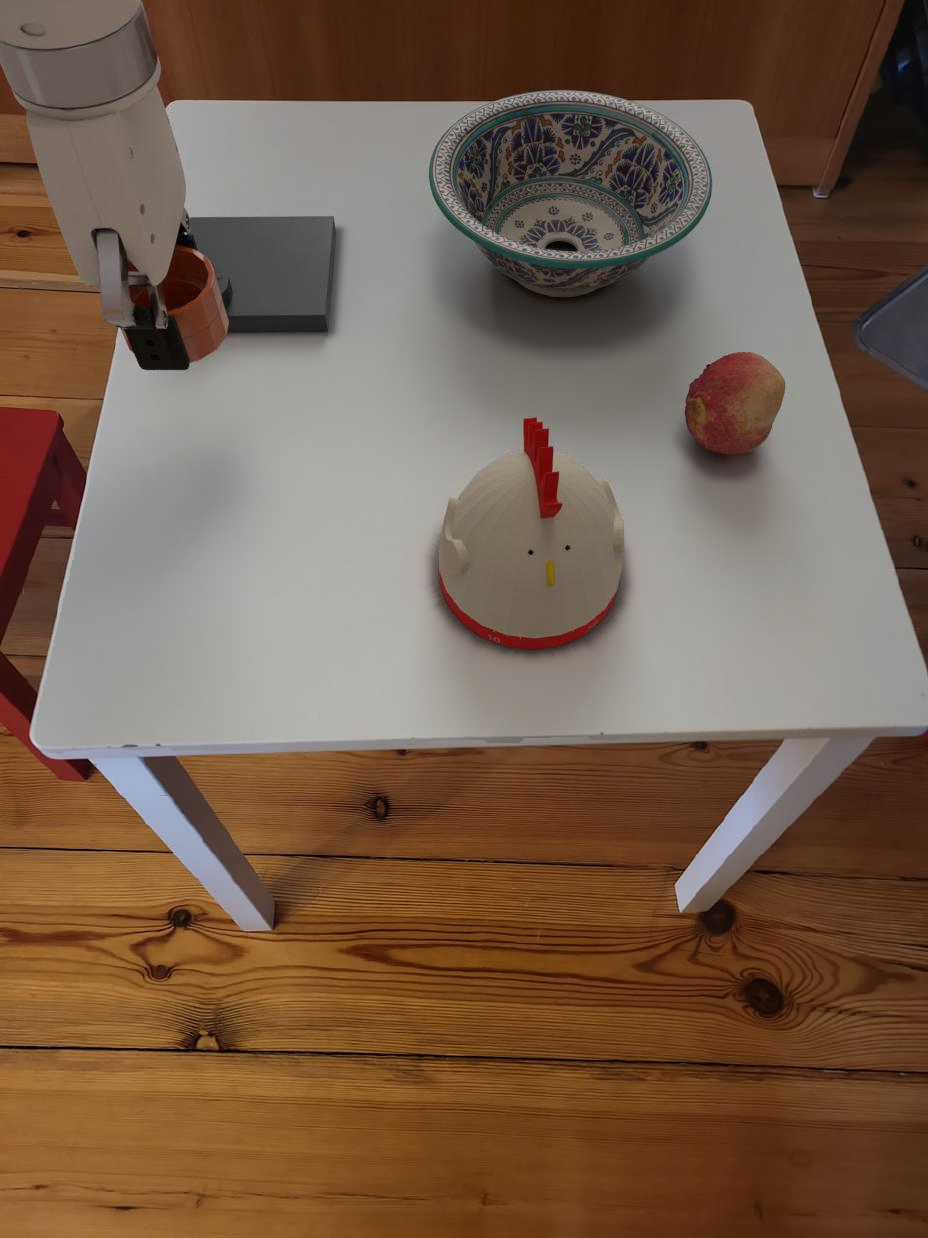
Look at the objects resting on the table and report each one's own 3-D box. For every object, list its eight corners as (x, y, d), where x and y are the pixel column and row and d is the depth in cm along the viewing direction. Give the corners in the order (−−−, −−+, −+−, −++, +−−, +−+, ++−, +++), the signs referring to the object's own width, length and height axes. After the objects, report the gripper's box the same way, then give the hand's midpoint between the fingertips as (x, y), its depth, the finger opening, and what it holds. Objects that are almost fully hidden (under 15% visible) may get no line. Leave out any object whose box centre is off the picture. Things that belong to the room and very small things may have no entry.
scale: (170, 335, 83) (159, 304, 80) (191, 233, 90) (182, 201, 87) (327, 334, 83) (322, 303, 80) (336, 232, 90) (331, 200, 87)
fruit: (730, 490, 74) (758, 422, 67) (656, 440, 77) (675, 370, 70) (785, 438, 77) (817, 368, 70) (711, 391, 80) (735, 319, 73)
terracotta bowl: (120, 371, 60) (95, 316, 56) (138, 300, 63) (116, 244, 59) (222, 371, 60) (205, 316, 56) (236, 300, 63) (220, 244, 59)
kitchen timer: (452, 660, 66) (450, 540, 53) (427, 510, 73) (420, 371, 60) (638, 635, 67) (680, 512, 54) (596, 490, 74) (625, 349, 61)
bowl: (692, 193, 94) (714, 101, 85) (685, 366, 81) (711, 277, 73) (453, 170, 96) (452, 77, 87) (410, 335, 83) (405, 245, 75)
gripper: (43, -39, 50) (143, 241, 65) (-47, 153, 41) (93, 423, 57) (179, -39, 50) (247, 240, 65) (118, 153, 41) (213, 423, 57)
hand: (175, 324), depth 61 cm, fingers closed on terracotta bowl, 6 cm apart
